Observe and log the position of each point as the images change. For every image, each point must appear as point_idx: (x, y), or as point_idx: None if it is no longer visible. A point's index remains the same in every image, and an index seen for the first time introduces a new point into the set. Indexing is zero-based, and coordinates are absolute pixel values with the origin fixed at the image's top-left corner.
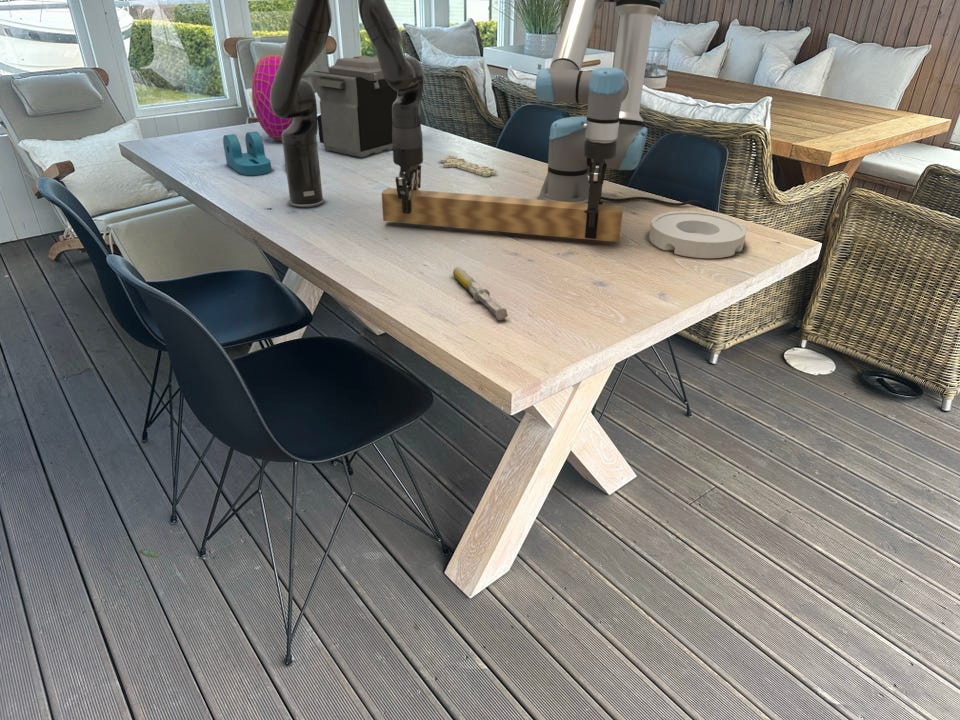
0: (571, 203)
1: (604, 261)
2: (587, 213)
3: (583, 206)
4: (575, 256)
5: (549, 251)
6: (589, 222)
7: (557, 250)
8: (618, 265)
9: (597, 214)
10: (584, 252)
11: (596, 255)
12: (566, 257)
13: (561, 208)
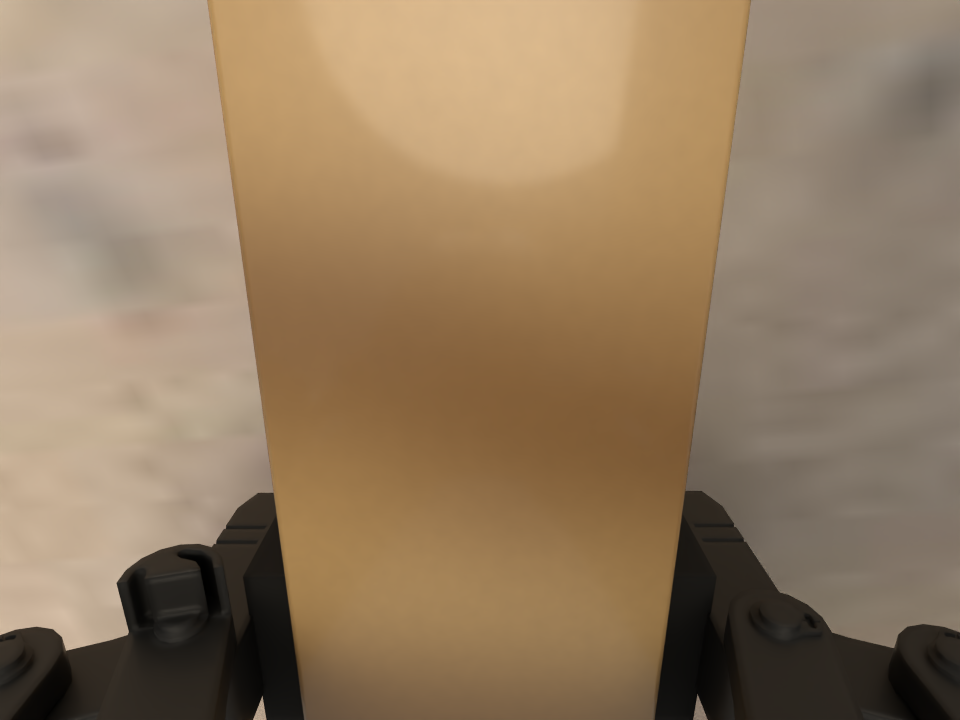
0: (616, 263)
1: (81, 537)
2: (251, 571)
3: (460, 521)
4: (73, 314)
5: (79, 36)
6: (228, 536)
7: (145, 121)
8: (54, 624)
9: (268, 698)
10: (203, 379)
11: (178, 475)
12: (8, 236)
13: (220, 52)
